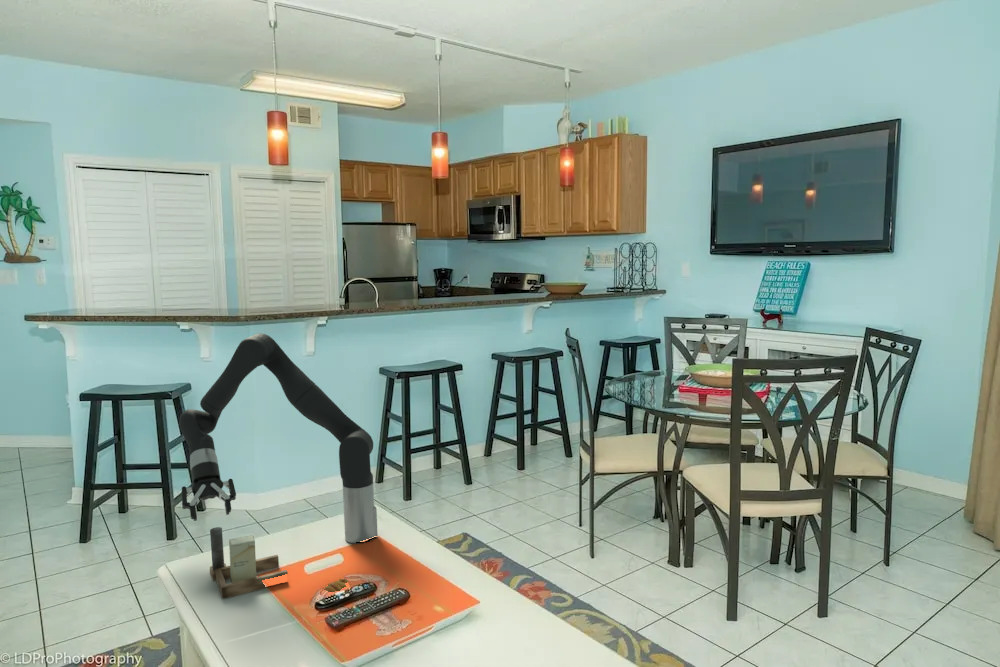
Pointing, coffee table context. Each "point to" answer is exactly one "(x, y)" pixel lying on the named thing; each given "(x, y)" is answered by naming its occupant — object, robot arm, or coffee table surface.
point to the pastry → (336, 585)
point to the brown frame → (223, 572)
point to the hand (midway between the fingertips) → (211, 516)
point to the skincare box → (242, 558)
